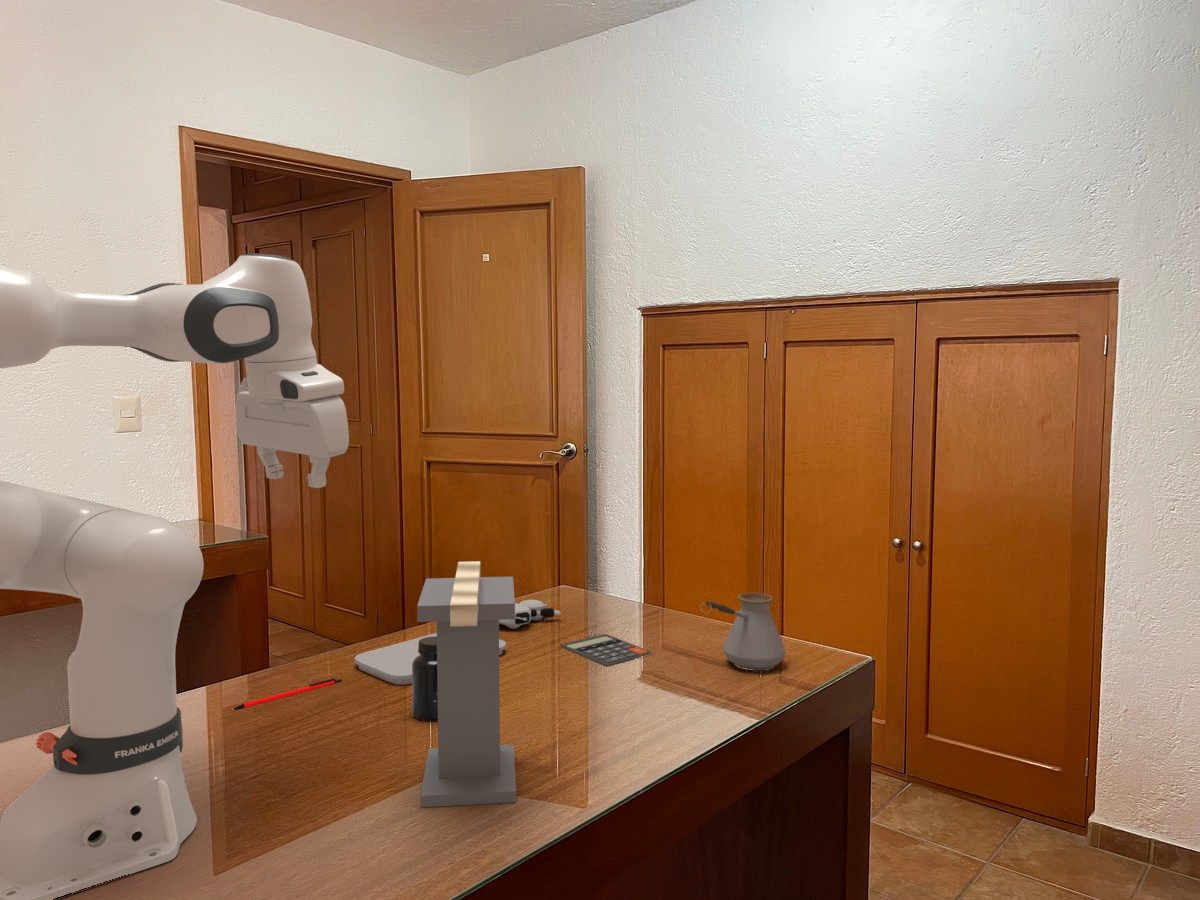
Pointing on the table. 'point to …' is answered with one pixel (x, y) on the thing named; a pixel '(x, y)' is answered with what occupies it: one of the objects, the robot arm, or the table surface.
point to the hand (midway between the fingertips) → (296, 482)
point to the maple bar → (465, 595)
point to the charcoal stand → (468, 699)
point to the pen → (289, 693)
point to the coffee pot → (752, 633)
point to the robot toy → (529, 613)
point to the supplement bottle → (425, 681)
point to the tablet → (396, 660)
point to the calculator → (605, 649)
